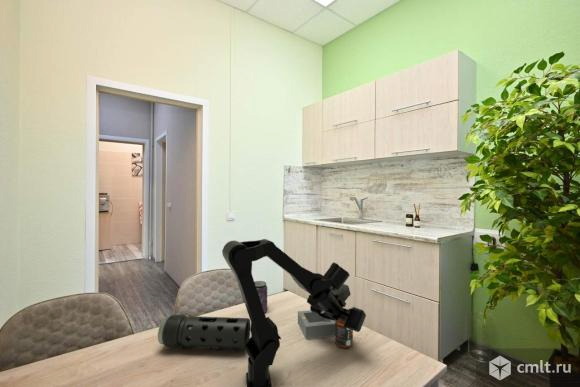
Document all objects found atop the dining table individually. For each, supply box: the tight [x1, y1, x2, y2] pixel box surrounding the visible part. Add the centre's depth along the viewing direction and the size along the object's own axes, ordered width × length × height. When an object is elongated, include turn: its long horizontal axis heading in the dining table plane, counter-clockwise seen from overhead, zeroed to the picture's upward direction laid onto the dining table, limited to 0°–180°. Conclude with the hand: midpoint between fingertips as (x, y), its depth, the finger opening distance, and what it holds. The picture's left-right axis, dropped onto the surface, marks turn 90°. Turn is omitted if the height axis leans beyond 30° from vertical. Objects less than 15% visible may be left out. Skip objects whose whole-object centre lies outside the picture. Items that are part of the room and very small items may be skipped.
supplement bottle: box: [334, 316, 354, 349], centre depth 90 cm, size 6×6×11 cm
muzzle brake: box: [157, 314, 251, 351], centre depth 88 cm, size 10×28×10 cm, turn 87°
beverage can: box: [254, 280, 268, 313], centre depth 114 cm, size 7×7×12 cm
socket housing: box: [297, 309, 335, 340], centre depth 100 cm, size 12×12×5 cm
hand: (346, 323), depth 91 cm, fingers closed on supplement bottle, 6 cm apart
